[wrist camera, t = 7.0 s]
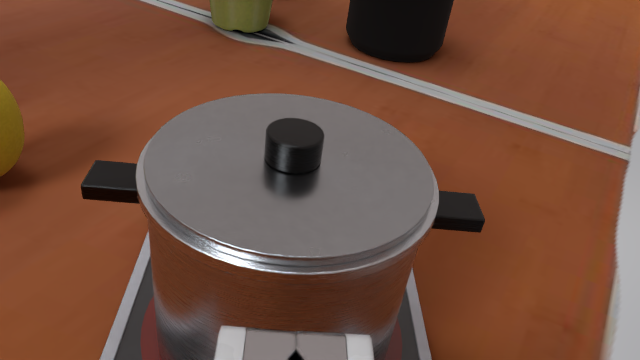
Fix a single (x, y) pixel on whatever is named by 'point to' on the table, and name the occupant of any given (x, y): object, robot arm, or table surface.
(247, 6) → the plant pot
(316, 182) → the steel pot
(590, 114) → the table surface
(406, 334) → the hob
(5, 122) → the lemon
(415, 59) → the coffee jar
